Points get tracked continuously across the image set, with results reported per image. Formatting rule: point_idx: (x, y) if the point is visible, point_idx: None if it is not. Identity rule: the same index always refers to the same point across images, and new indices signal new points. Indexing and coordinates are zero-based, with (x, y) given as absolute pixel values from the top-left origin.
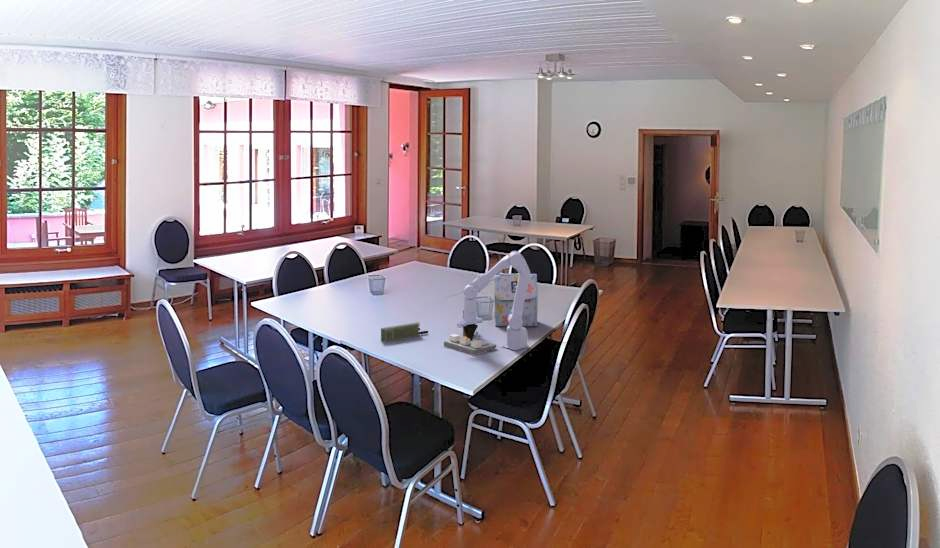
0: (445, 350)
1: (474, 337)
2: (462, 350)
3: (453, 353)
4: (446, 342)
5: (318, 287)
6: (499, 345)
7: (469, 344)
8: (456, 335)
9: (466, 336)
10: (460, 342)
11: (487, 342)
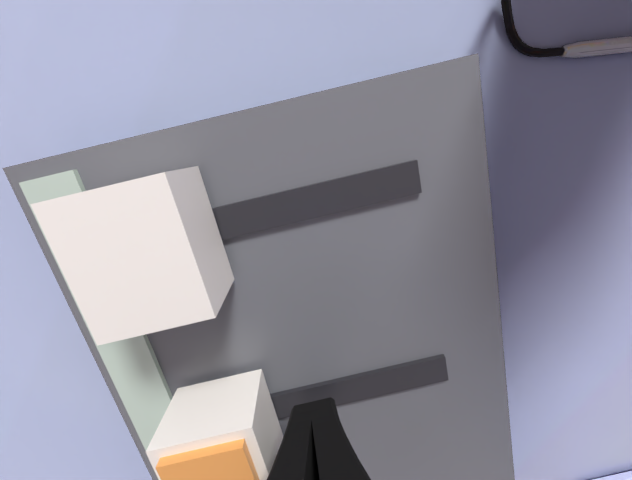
0: (11, 340)
1: (607, 50)
2: None
3: (62, 455)
4: (32, 228)
5: None
6: (596, 426)
7: (283, 435)
8: (159, 288)
9: (468, 89)
10: (175, 409)
11: (504, 452)
